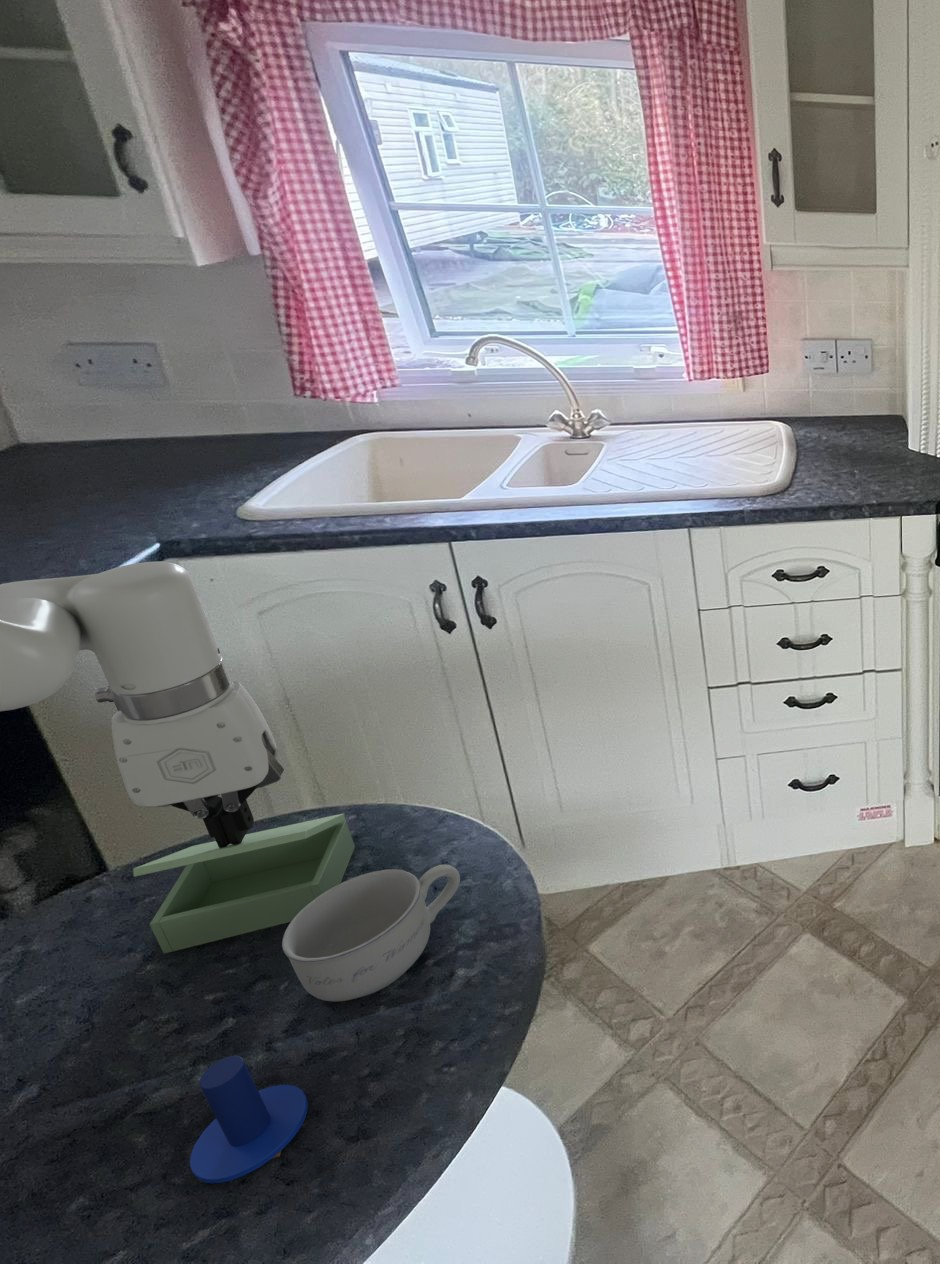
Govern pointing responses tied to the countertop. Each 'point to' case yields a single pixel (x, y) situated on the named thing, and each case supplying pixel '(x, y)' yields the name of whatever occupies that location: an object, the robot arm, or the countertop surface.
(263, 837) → the hatch
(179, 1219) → the countertop surface
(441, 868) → the teacup
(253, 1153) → the blue cylinder on disc
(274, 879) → the green wooden box
